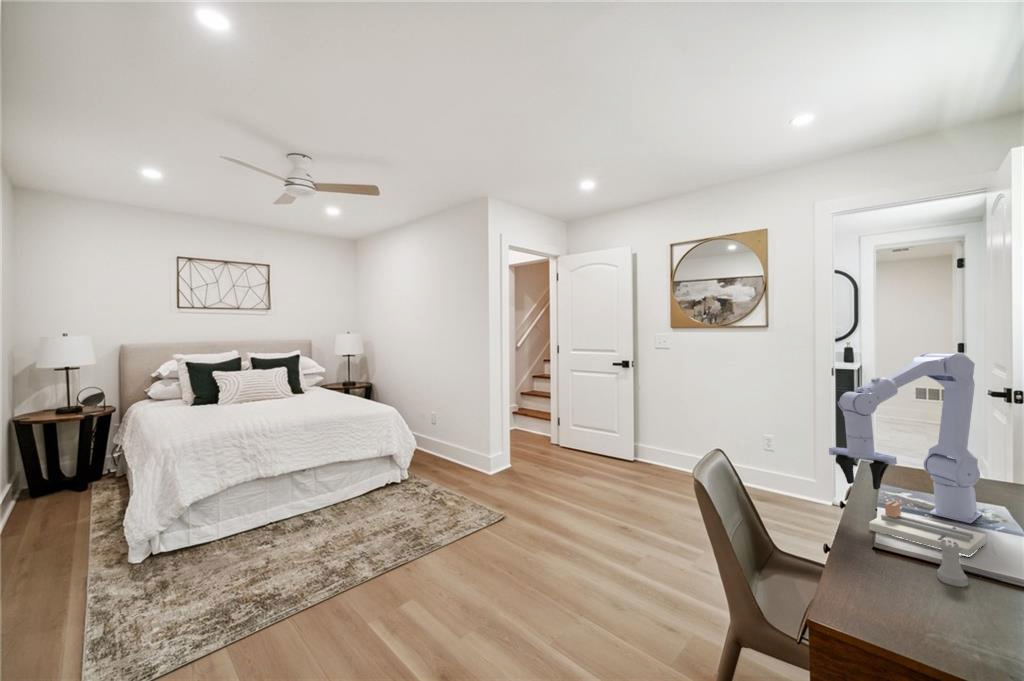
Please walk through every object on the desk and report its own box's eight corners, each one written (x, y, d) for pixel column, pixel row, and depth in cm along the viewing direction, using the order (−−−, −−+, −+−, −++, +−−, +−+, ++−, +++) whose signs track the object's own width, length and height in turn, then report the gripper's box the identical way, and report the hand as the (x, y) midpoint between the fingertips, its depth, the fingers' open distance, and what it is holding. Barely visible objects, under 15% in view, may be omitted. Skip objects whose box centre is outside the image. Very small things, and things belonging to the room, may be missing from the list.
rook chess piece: (975, 588, 83) (972, 548, 83) (948, 587, 83) (945, 547, 84) (956, 576, 87) (953, 537, 87) (931, 575, 88) (928, 537, 88)
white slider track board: (889, 517, 114) (888, 506, 114) (986, 542, 99) (985, 530, 99) (869, 529, 109) (868, 518, 109) (969, 558, 93) (968, 544, 93)
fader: (891, 515, 111) (890, 500, 111) (901, 518, 109) (899, 502, 109) (886, 518, 109) (884, 503, 109) (896, 521, 107) (894, 505, 107)
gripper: (822, 434, 119) (825, 482, 119) (886, 443, 106) (890, 496, 106) (834, 430, 122) (838, 476, 122) (898, 438, 110) (902, 490, 109)
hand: (863, 485), depth 114 cm, fingers open, 5 cm apart
